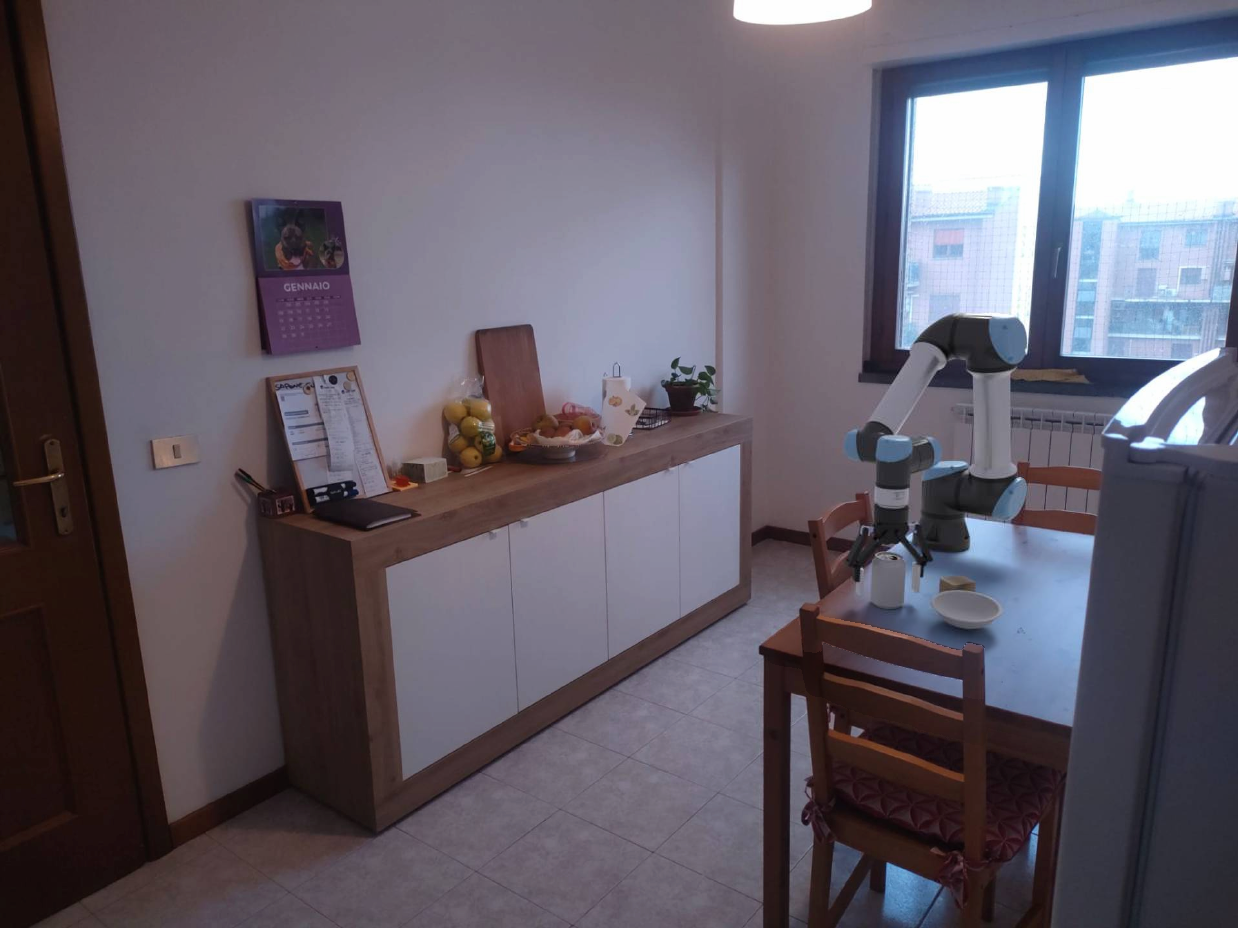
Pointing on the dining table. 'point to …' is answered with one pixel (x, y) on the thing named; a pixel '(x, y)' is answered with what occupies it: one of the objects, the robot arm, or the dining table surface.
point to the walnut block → (956, 584)
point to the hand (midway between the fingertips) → (887, 592)
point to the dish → (966, 608)
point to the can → (888, 580)
